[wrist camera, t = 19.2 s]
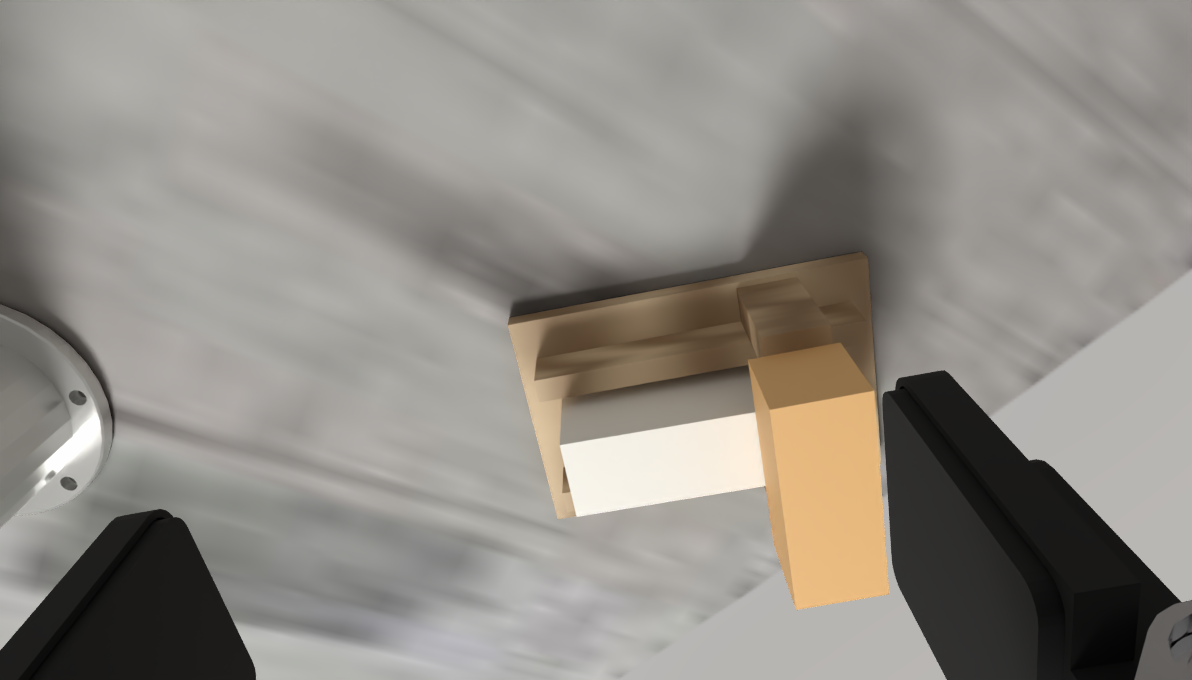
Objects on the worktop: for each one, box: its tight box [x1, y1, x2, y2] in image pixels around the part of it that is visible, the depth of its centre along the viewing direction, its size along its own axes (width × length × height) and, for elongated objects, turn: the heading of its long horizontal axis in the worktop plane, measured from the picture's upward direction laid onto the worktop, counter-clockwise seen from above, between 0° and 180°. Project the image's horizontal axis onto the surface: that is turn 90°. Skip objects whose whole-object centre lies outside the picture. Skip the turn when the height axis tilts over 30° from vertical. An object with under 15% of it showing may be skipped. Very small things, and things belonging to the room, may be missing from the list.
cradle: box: [508, 252, 881, 519], centre depth 41 cm, size 18×12×7 cm, turn 101°
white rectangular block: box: [560, 365, 766, 517], centre depth 41 cm, size 14×4×6 cm, turn 100°
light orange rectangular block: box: [748, 343, 889, 610], centre depth 36 cm, size 4×10×4 cm, turn 11°
